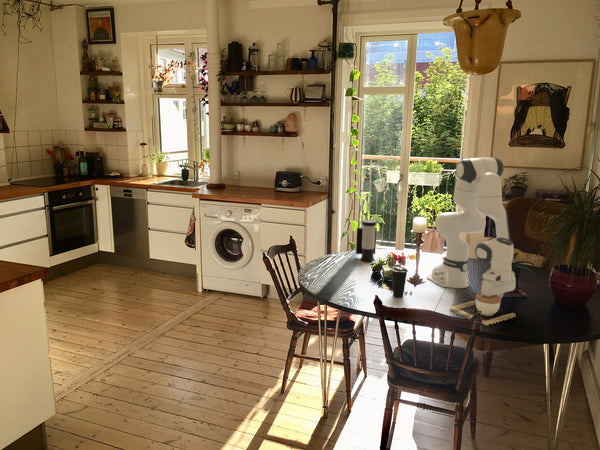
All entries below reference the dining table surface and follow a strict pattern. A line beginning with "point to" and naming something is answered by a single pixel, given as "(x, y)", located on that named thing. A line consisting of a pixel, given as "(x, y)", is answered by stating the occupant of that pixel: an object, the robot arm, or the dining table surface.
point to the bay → (467, 315)
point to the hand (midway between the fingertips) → (497, 302)
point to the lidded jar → (487, 304)
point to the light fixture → (366, 240)
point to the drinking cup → (399, 280)
